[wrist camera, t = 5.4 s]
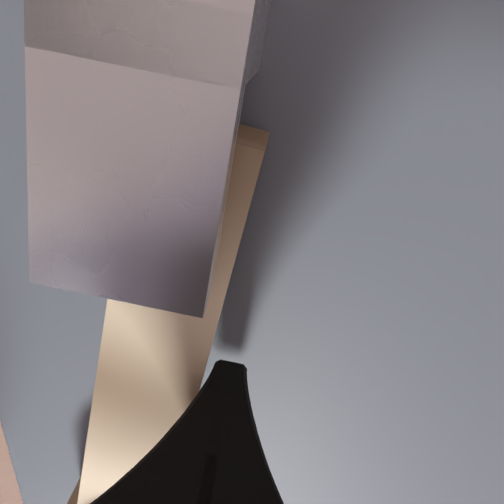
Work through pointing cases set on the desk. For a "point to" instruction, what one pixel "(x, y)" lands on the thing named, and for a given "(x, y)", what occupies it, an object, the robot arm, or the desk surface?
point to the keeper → (134, 142)
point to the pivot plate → (318, 264)
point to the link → (160, 351)
